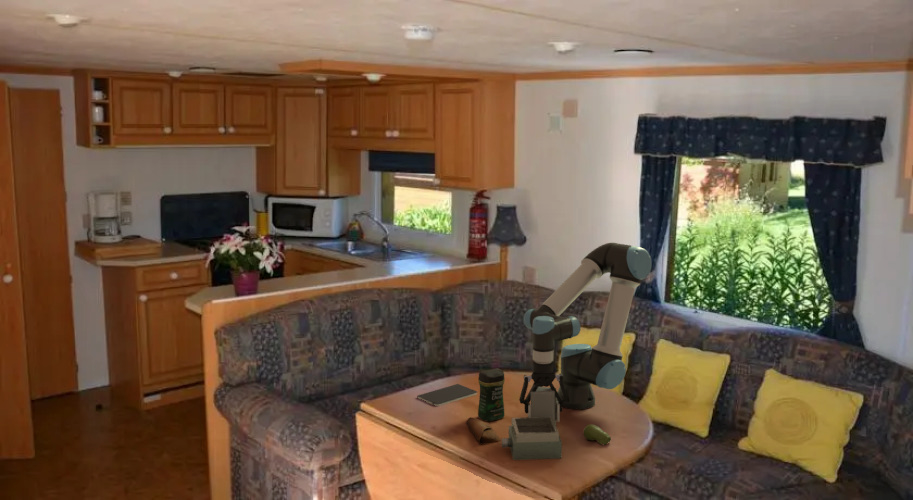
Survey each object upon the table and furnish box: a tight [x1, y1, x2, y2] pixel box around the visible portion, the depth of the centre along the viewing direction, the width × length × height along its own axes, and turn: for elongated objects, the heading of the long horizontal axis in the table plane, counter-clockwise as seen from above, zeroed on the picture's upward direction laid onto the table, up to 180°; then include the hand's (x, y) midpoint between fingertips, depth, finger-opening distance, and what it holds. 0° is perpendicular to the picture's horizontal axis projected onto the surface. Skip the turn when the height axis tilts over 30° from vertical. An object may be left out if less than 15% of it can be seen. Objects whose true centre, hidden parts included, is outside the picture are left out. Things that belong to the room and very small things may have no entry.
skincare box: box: [530, 386, 557, 426], centre depth 287 cm, size 8×7×16 cm
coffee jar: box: [477, 367, 506, 422], centre depth 301 cm, size 10×8×19 cm
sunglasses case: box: [465, 416, 502, 446], centre depth 287 cm, size 18×7×7 cm
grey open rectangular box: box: [501, 416, 563, 461], centre depth 272 cm, size 19×14×9 cm
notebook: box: [416, 383, 478, 407], centre depth 325 cm, size 13×2×21 cm
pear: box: [583, 424, 612, 445], centre depth 280 cm, size 6×5×10 cm
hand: (543, 420), depth 288 cm, fingers closed on skincare box, 9 cm apart
